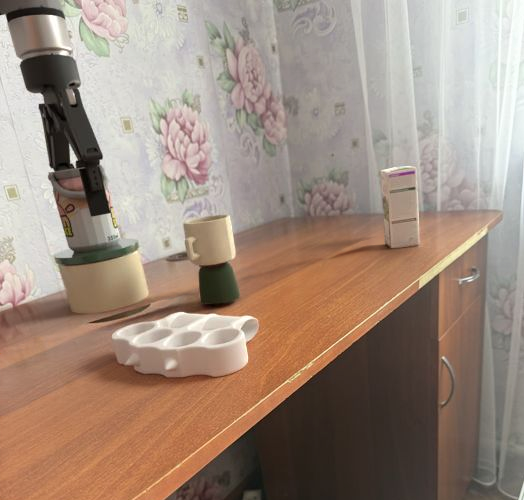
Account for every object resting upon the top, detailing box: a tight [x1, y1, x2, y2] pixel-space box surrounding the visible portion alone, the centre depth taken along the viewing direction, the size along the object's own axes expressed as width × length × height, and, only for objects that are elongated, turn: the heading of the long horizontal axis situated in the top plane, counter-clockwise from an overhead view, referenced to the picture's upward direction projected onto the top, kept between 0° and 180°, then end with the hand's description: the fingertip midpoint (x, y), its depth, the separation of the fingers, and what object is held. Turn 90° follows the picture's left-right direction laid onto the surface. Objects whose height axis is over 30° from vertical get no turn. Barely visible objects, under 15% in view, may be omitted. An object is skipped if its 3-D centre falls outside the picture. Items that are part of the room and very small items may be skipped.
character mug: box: [182, 214, 241, 306], centre depth 76 cm, size 11×7×13 cm, turn 148°
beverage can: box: [47, 164, 121, 252], centre depth 77 cm, size 9×8×12 cm
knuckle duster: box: [110, 311, 260, 379], centre depth 59 cm, size 3×18×15 cm
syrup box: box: [380, 165, 420, 249], centre depth 96 cm, size 6×6×14 cm
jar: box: [53, 238, 151, 324], centre depth 81 cm, size 13×13×10 cm
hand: (87, 213), depth 78 cm, fingers open, 13 cm apart
